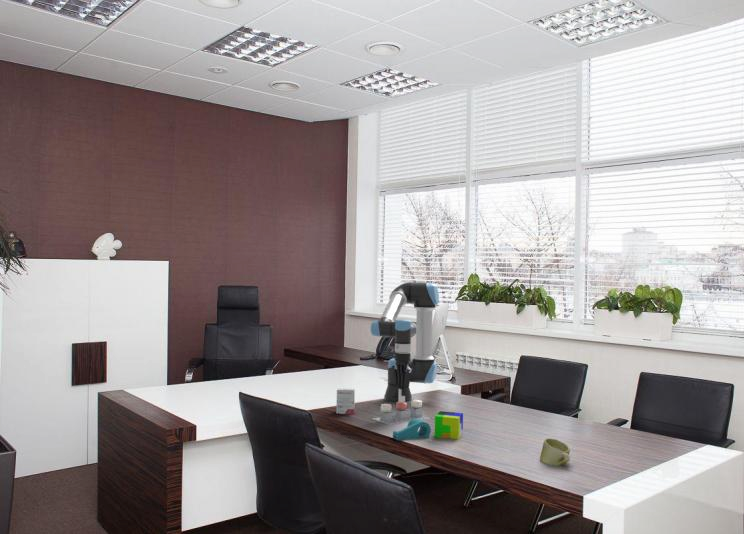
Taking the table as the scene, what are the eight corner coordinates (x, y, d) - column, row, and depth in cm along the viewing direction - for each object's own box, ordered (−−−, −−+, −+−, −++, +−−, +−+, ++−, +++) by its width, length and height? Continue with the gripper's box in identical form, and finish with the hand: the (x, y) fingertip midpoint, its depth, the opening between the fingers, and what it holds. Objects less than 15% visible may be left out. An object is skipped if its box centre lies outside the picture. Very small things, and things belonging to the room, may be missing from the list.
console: (412, 414, 304) (412, 404, 304) (429, 420, 293) (430, 409, 293) (372, 420, 290) (372, 409, 290) (388, 426, 279) (389, 415, 279)
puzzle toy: (462, 436, 266) (463, 413, 266) (458, 442, 256) (458, 418, 256) (439, 434, 269) (440, 411, 269) (434, 440, 259) (434, 416, 260)
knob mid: (402, 415, 295) (402, 401, 295) (408, 417, 291) (409, 403, 291) (393, 416, 292) (394, 402, 292) (400, 418, 288) (400, 404, 288)
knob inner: (417, 413, 300) (417, 399, 300) (423, 415, 296) (423, 401, 296) (409, 414, 297) (409, 400, 297) (415, 416, 293) (415, 402, 293)
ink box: (354, 412, 306) (355, 388, 306) (353, 414, 301) (354, 390, 301) (337, 411, 307) (338, 387, 307) (336, 413, 302) (336, 389, 302)
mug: (531, 451, 231) (545, 430, 228) (553, 462, 233) (568, 441, 230) (540, 470, 219) (555, 449, 217) (564, 482, 221) (579, 461, 218)
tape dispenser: (430, 439, 260) (430, 421, 260) (397, 442, 254) (398, 423, 254) (423, 435, 266) (423, 417, 266) (391, 438, 260) (391, 420, 261)
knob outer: (387, 417, 290) (387, 403, 290) (393, 419, 286) (393, 405, 286) (378, 418, 287) (378, 404, 287) (384, 421, 283) (384, 406, 283)
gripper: (388, 351, 295) (387, 400, 295) (404, 354, 284) (403, 406, 284) (400, 350, 299) (399, 399, 299) (417, 353, 288) (416, 404, 288)
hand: (401, 402), depth 292 cm, fingers closed, pressing on knob mid
